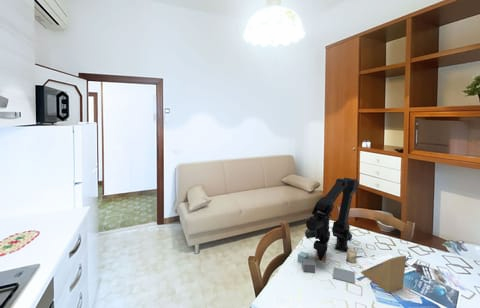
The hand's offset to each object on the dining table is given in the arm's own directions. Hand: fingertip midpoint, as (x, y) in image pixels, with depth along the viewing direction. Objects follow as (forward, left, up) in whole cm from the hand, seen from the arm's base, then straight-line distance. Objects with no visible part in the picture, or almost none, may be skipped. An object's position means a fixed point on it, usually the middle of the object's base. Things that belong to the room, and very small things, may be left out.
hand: (321, 255), depth 127 cm
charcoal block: (+12, -4, -2) cm, 13 cm away
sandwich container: (+6, +26, -2) cm, 27 cm away
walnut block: (0, 0, -2) cm, 2 cm away
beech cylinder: (-5, +14, -2) cm, 15 cm away
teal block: (+6, -8, -2) cm, 10 cm away
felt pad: (+10, +11, -2) cm, 15 cm away
